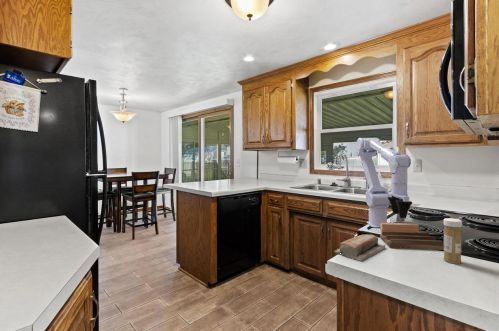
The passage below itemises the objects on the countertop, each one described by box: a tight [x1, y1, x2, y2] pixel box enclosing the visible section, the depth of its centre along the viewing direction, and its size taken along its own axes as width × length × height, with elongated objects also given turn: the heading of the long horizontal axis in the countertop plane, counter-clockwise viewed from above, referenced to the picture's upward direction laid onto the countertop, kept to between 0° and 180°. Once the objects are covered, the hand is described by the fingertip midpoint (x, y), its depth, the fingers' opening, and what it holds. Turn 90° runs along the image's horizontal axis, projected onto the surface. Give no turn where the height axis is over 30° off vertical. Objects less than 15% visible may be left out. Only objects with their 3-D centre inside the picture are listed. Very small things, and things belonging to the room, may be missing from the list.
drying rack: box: [379, 231, 444, 251], centre depth 97 cm, size 11×18×3 cm, turn 80°
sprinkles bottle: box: [443, 217, 463, 265], centre depth 81 cm, size 5×5×14 cm
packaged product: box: [333, 234, 387, 262], centre depth 92 cm, size 18×5×10 cm
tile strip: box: [380, 222, 420, 235], centre depth 108 cm, size 2×14×5 cm, turn 80°
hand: (399, 215), depth 107 cm, fingers open, 7 cm apart
